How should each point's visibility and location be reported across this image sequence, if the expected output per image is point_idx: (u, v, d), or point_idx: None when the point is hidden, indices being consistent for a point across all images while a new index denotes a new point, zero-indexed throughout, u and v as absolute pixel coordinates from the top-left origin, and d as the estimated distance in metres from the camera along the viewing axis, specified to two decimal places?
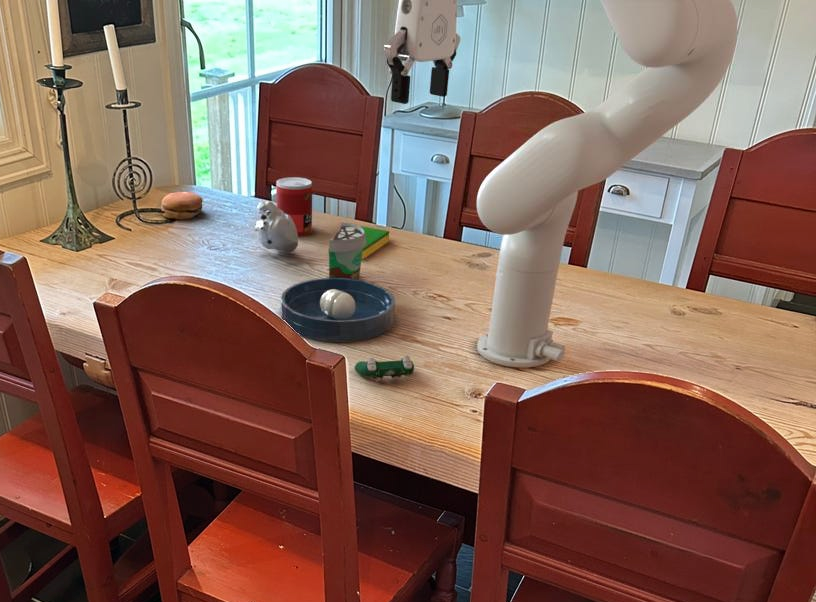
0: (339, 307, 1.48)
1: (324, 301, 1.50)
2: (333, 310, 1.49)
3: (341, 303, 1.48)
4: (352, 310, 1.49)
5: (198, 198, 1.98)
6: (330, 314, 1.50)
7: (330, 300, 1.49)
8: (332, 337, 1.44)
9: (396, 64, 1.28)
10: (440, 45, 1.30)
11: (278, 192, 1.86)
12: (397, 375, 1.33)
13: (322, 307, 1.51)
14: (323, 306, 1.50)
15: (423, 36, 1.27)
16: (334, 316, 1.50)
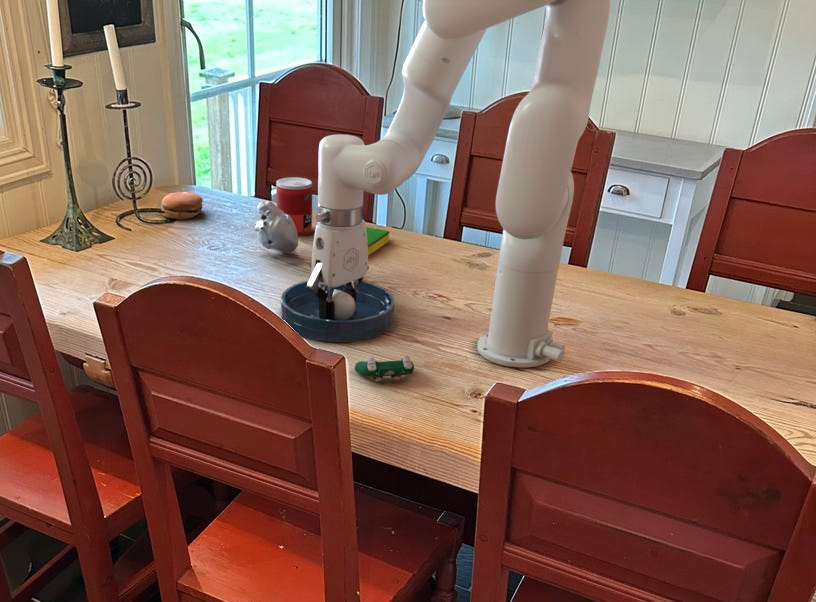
0: (339, 307, 1.48)
1: None
2: None
3: (341, 303, 1.48)
4: (352, 310, 1.49)
5: (198, 198, 1.98)
6: None
7: None
8: (332, 337, 1.44)
9: (320, 294, 1.45)
10: (353, 271, 1.46)
11: (278, 192, 1.86)
12: (397, 375, 1.33)
13: None
14: None
15: (335, 268, 1.43)
16: (334, 316, 1.50)
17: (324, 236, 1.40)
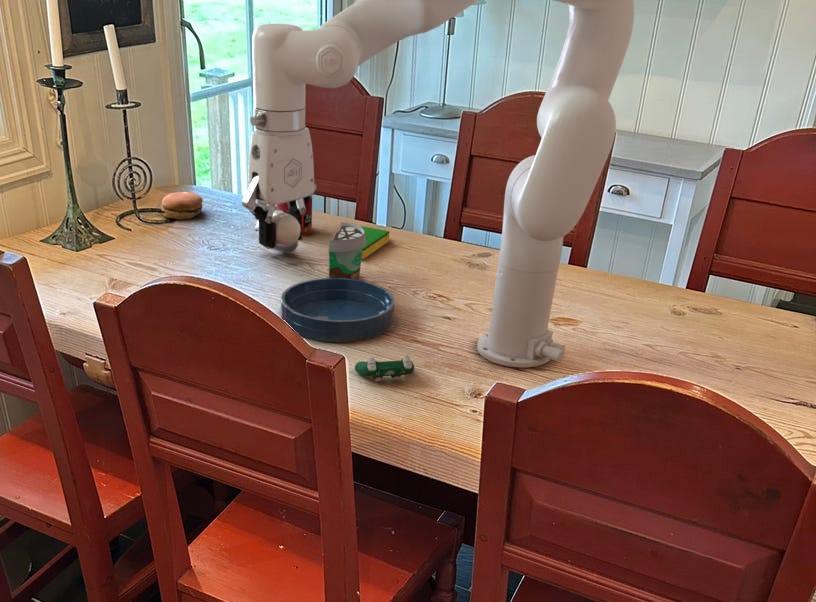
0: (281, 229, 1.30)
1: None
2: None
3: (283, 225, 1.30)
4: (296, 233, 1.32)
5: (198, 198, 1.98)
6: None
7: None
8: (332, 337, 1.44)
9: (258, 213, 1.28)
10: (296, 187, 1.28)
11: None
12: (397, 375, 1.33)
13: None
14: None
15: (274, 181, 1.25)
16: (276, 240, 1.32)
17: (260, 143, 1.22)
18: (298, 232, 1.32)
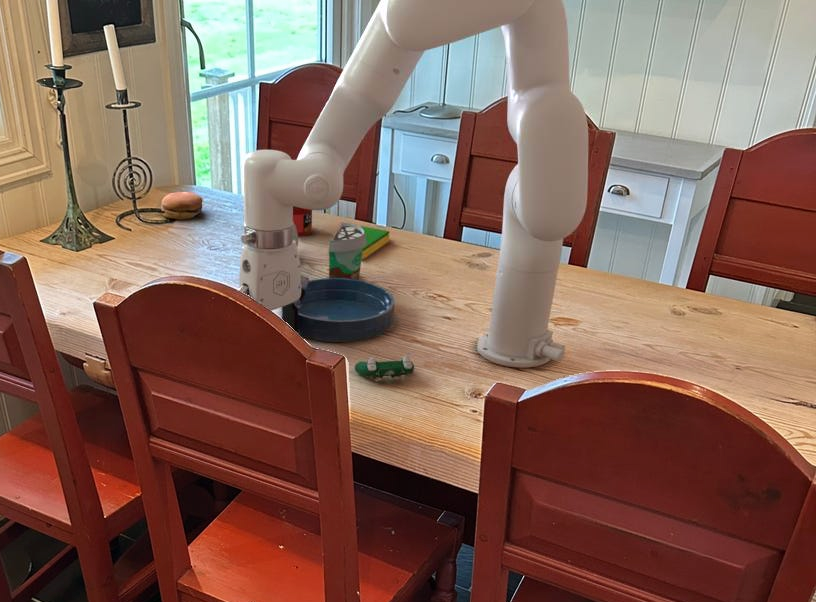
0: None
1: None
2: None
3: None
4: None
5: (198, 198, 1.98)
6: None
7: None
8: (332, 337, 1.44)
9: None
10: (284, 295, 1.36)
11: None
12: (397, 375, 1.33)
13: None
14: None
15: (263, 293, 1.33)
16: None
17: (250, 259, 1.30)
18: None
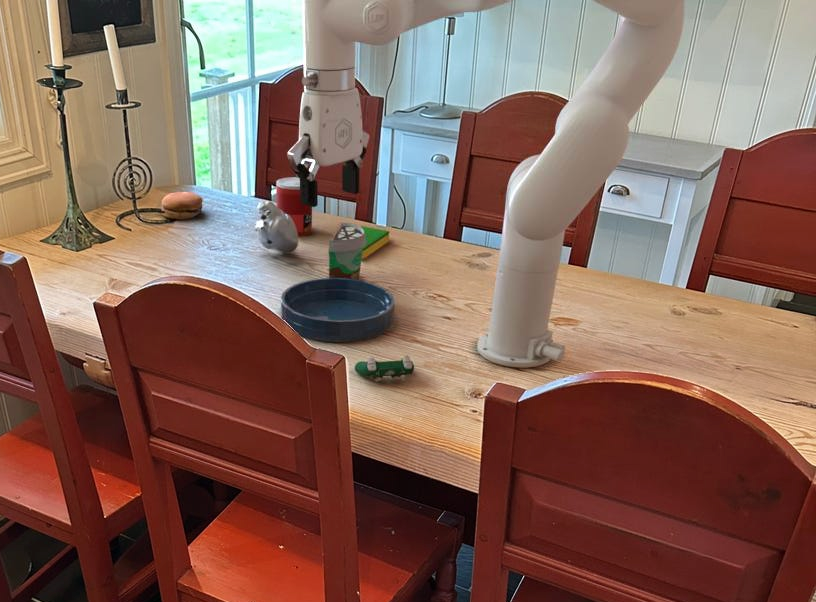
0: None
1: None
2: None
3: None
4: None
5: (198, 198, 1.98)
6: None
7: None
8: (332, 337, 1.44)
9: (301, 170, 1.26)
10: (346, 148, 1.28)
11: (278, 192, 1.86)
12: (397, 375, 1.33)
13: None
14: None
15: (326, 142, 1.25)
16: None
17: (312, 103, 1.23)
18: None
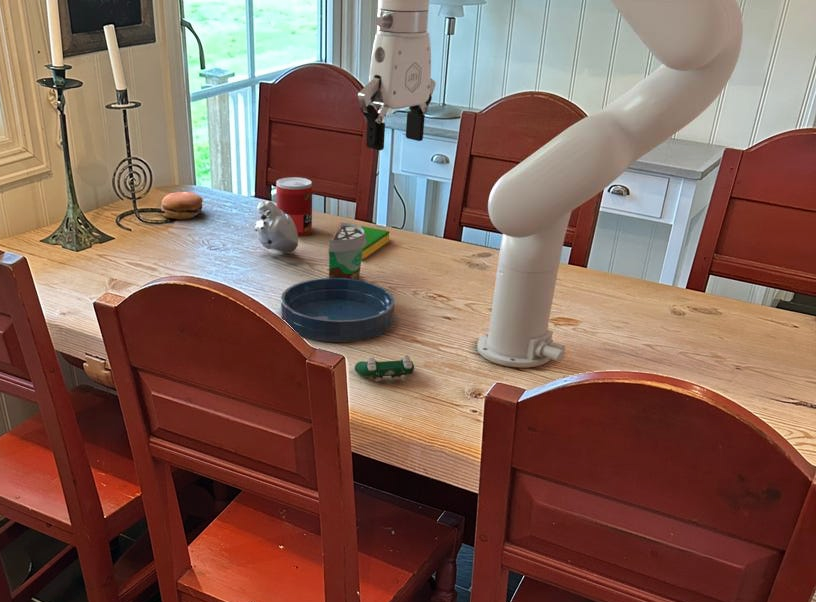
0: None
1: None
2: None
3: None
4: None
5: (198, 198, 1.98)
6: None
7: None
8: (332, 337, 1.44)
9: (370, 112, 1.28)
10: (414, 92, 1.30)
11: (278, 192, 1.86)
12: (397, 375, 1.33)
13: None
14: None
15: (396, 84, 1.27)
16: None
17: (385, 44, 1.24)
18: None
